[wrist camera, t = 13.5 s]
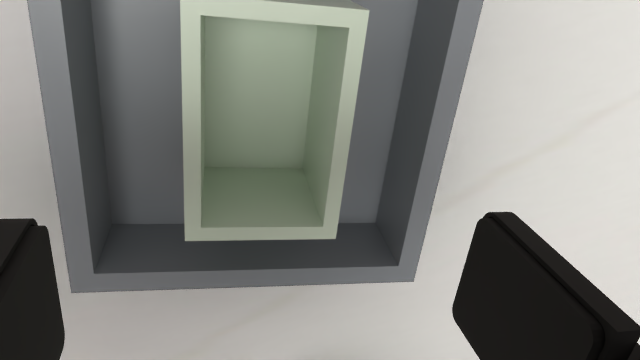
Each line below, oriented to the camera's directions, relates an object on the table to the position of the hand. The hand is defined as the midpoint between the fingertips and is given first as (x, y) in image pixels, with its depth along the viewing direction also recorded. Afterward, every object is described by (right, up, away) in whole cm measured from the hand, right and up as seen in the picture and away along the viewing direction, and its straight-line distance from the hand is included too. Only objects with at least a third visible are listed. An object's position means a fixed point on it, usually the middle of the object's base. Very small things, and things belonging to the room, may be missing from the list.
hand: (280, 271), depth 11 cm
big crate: (-2, +7, +13) cm, 15 cm away
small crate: (-2, +6, +12) cm, 14 cm away
